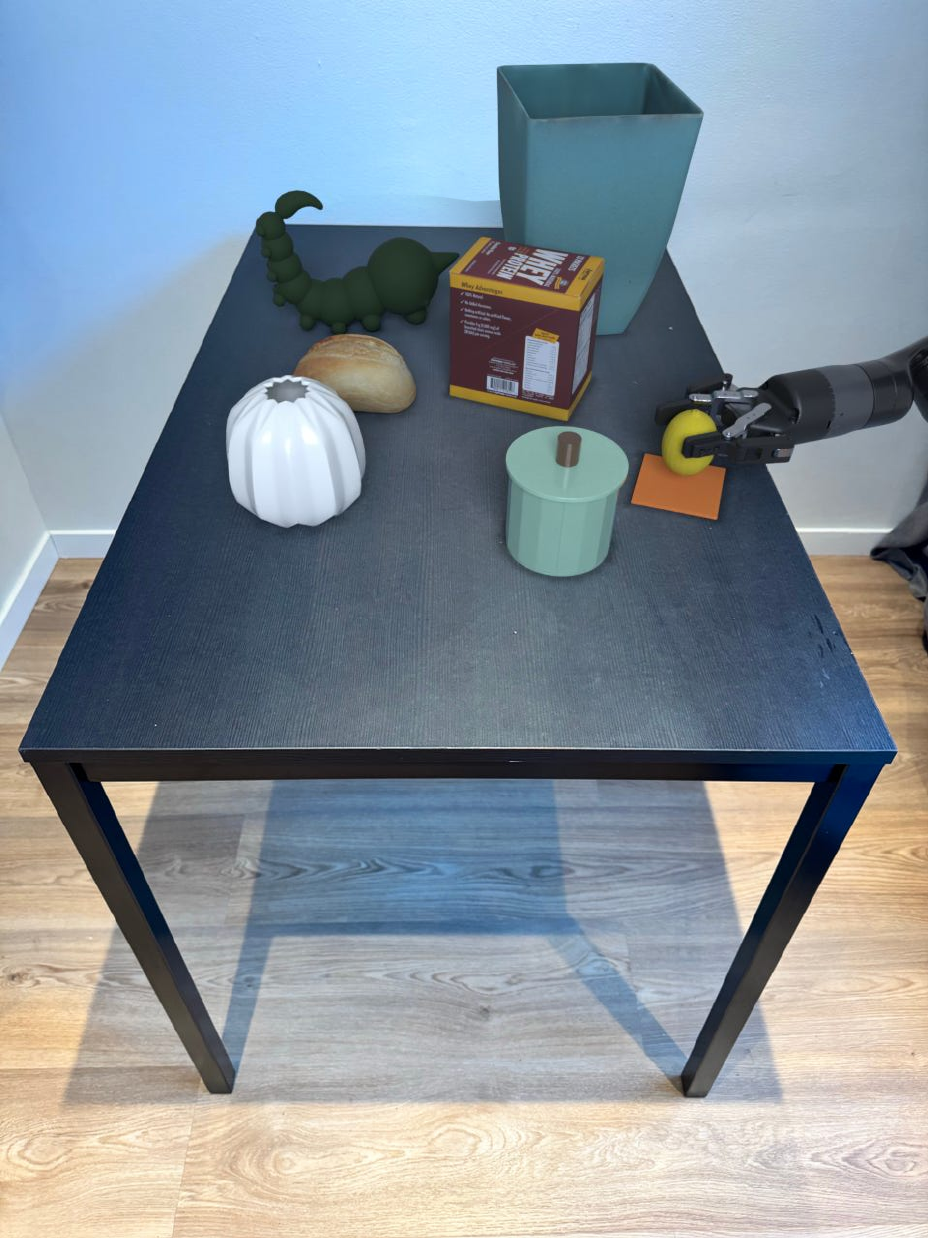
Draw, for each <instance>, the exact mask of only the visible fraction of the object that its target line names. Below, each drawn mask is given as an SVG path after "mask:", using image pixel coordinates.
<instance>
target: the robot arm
mask: <svg viewBox="0 0 928 1238" xmlns="http://www.w3.org/2000/svg"><path fill="white" fill-rule="evenodd" d="M733 379H734V375H733V374H731V373H729V372H724V373H721V374H717V375H714V376H711V377H707V378H705V379H702V380H699V381H695V382H692V383H688V384H687V385H686V389H685V393H684V398H683V399H679V400H673V401H669V402H668V401H667V402H662V403H660V404H659V405H658V406H657V407H656V410H655V415H654V423H655V424H656V425H657V426H659V427H663V426H668V425H669V423H670V421H671V420H672V419H673V418H674V417H675V416H676V415H678V414H679V413H681V412H684V411H687V410H694V409H698V410H699V408H701V407H703V406H707V405H708V409H707V410H702V409H701V410H700V411H702V412H704V413H706V414H707V415H708V416H710V417H711V419H712V420H713V421H714V423H715V425H716V426H720V427H721V426H722V427H723V426H724V427H726V428H725V429H724V430H723V431H722V433H720V431H719V430H717V431H714V432H708V433H703V434H698V435H693V436H688V437H686V438H685V439H684V441H683V446H682V450H681V453H682V455H683V456H684V457H685V458H686V459H688V458H700V457H705V456H710V455H714V456H715V455H718V456H719V457H723V458H727V457H729V458H731V463H732V464H733V465H734V466H738V467H742V466H743V467H744V466H756V465H757V466H759V465H769V464H770V465H773V464H786V463H789V462H790V461H791V458H792V455H793V453H794V449H795V446H798V445H802V444H803V445H804V444H807V443H813V442H818V441H822V440H828V439H834V438H837V437H840V436H845V435H847V434H849V433H852V432H856V431H862V430H866V429H871V428H877V427H881V426H886V425H890V424H894V423H896V422H899V421H901V420H902V419H903V418H904V417H905V416H906V415H908V413H909V412H910V411H911V408H912V406H913V403H914V404H915V406H916V408H917V410H918V411H919V413H920V415H921V416H922V419H923V420H924V421H925V422H926V423H927V424H928V334H927V335H925V336H922V337H921V338H919V339H917V340H915V341H914V342H912V343H910V344H908V345H906V346H905V347H903V348H901V349H898V350H896V351H894V352H892V353H889V354H887V355H884V356H882V357H880V358H877V359H872V360H866V361H861V362H855V363H850V364H849V363H848V364H832V365H831V364H830V365H824V366H818V367H813V368H807V369H801V370H795V371H790V372H785V373H779V374H775V375H772V376H770V377H769V378H768V379H766V381H764V382H763V383H762V384H760V385H759V386H757V387H747V386H741V387H739V386H737V385H735V384H734V383H733ZM723 402H724V403H723ZM721 404H722V408H721V412H720V414H718V411H719V408H720V405H721ZM748 450H755V452H753V453H748Z"/></svg>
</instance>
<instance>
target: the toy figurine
mask: <svg viewBox="0 0 928 1238" xmlns="http://www.w3.org/2000/svg"><path fill="white" fill-rule="evenodd" d="M308 207H309V208H310V207H311V208H314V209H316V210H319V211H322V210H323V209H324V204H323V203H322V201H321V200H320V199H319V198H318V197H317V196H315V195H314V194H312V193H311V192H308V191H306V190H300V189H296V190H290V191H287V192H285V193H283V194H281V195H280V196H279V197H278V198H277V199H276V201H275V204H274V211H271V210H270V211H269V210H268V211H264V212H262V213H261V214H260V216H259V217H258V218H256V220H255V225H256V228H255V233H256V235H257V236H259V237H261V240H260V246H261V250H260V254H261V256H262V257H263V258H264V259H267V260H266V267H267V270H268V271H267V274H266V278H267V281H269V282H270V283H275V282H276V283H275V284H274V285H273V286H272V288H271V289H272V292H273V294H274V295H273V297H272V301H273V304H274V305H275V306H276V307H278V308H280V307H284V306H285V305H286V303H288V304H290V305H293V306H295V309H296V310H297V312H298V313H300V315H299V324H298V325H299V326H300V327H301V328H302V329H303V330H306V331H307V330H308V331H310V330H311V329H313V328H314V326H315V321H319V320H320V321H321V322H323V324H326V325H328V326H330V329H331V332H332V333H333V335H341V334H346V332H347V331H348V327H347V326H349V325H351V324H352V323H353V322H354V321H355V320H358V321H361V325H362V327H363V328H364V329H365V330H366V331H367V332H376V331H377V330H378V329H379V328H381V322H382V317H381V316H383V314H384V313H385V312H388V313H391V314H394V315H401V316H402V315H403V316H404V319H405V321H406V322H408V323H410V324H412V325H417V326H418V325H420V324H422V323H423V322H425V320H426V318H427V313H428V310H427V307H429V306H430V305H431V301H432V299H433V298H434V296H435V294H436V292H437V289H438V284H439V277H440V276H441V274H442V273H443V272H445V270H447V269H448V268H449V267H450V266H451V265H453V264H454V263H455V262H456V261H457V260H458V259H459V258H460V257H461V254H460V253H459V252H455V251H454V252H453V251H449V252H448V251H431V250H429V249H428V248H427V247H426V246H425V245H424V244H422V243H421V242H419V241H417V240H414V239H412V238H409V237H394V238H391V239H388V240H386V241H384V242H382V243H380V245H378V246H377V247H376V248H375V249H374V251H373V252H372V253H371V255H370V257H369V259H368V261H367V264H366V265H361V266H356V267H353V268H352V269H350V270H349V271H347V272H346V273H345V274H344V275H343V277H329V278H327V279H325V280H323V281H322V280H320V279H318V278H317V279H316V278H312V276H311V275H310V273H309V272H308V271H307V270H306V269H304V268H303V264H302V260H301V258H300V256H299V255H298V254H297V253H296V252H295V251H294V250H295V249H294V248H295V247H294V240H293V238H292V236H291V235H290V234H289V232H287V225H286V222H285V220H288V219H290V218H292V217H293V216H294V215H296V213H297V212H298V211H299V210H302V209H303V208H308Z"/></svg>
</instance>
